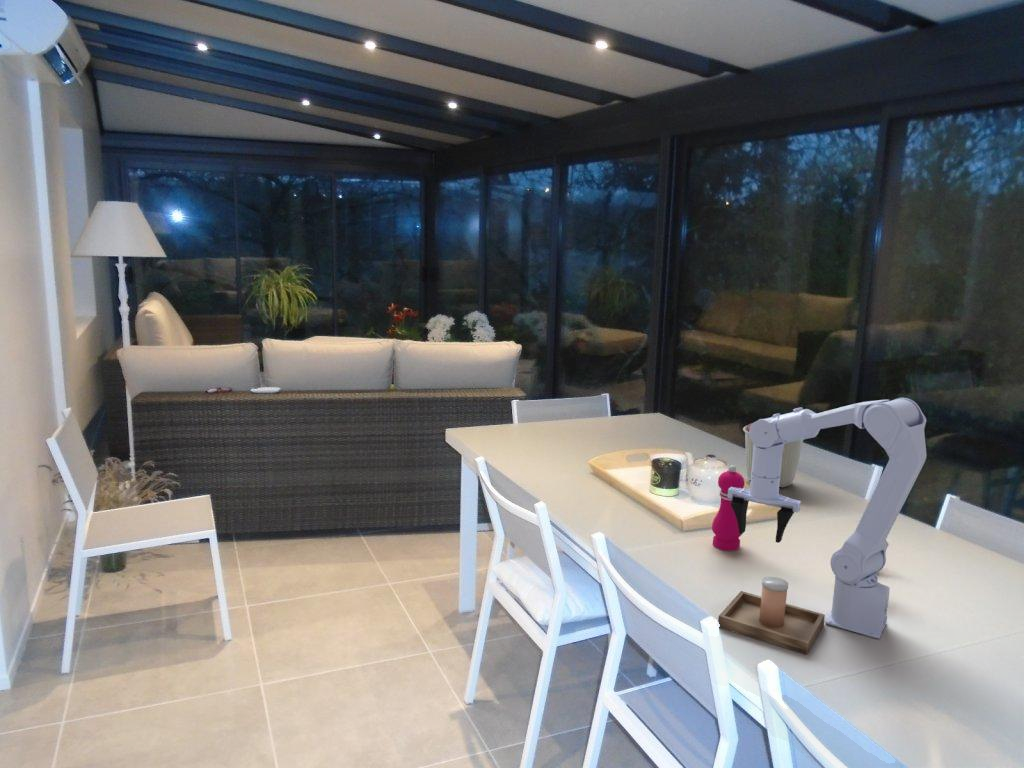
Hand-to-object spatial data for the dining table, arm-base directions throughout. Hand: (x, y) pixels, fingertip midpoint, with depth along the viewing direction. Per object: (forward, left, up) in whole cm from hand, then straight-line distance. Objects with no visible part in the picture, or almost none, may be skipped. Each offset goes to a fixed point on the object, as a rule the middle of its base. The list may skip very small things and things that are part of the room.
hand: (760, 536), depth 155 cm
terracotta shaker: (-8, +17, -10) cm, 21 cm away
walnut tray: (-8, +17, -10) cm, 21 cm away
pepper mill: (+12, -16, -11) cm, 23 cm away
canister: (+18, -73, -11) cm, 76 cm away
